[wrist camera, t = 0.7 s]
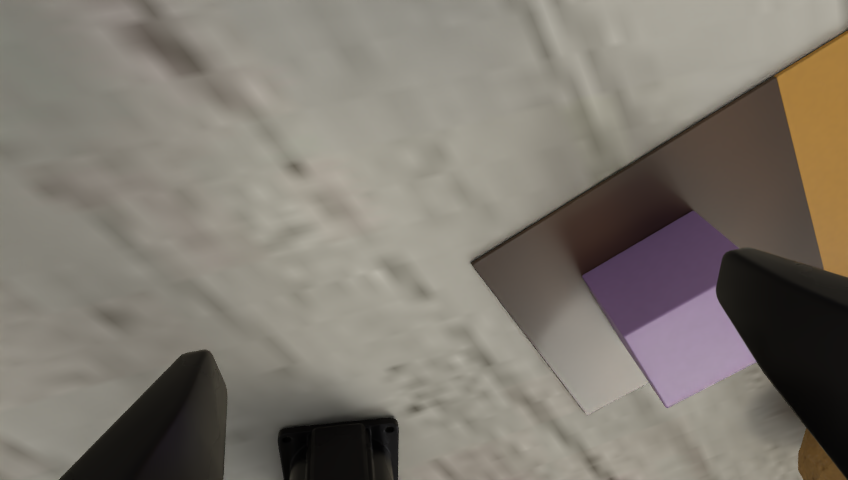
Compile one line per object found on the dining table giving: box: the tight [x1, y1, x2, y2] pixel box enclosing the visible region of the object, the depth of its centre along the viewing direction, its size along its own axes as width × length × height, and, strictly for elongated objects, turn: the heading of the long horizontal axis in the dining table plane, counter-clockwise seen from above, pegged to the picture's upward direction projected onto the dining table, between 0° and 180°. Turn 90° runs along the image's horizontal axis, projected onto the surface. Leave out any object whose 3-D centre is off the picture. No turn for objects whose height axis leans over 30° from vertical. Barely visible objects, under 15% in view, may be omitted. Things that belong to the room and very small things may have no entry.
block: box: [582, 211, 756, 408], centre depth 26 cm, size 6×6×4 cm
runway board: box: [471, 76, 824, 415], centre depth 27 cm, size 15×14×1 cm
